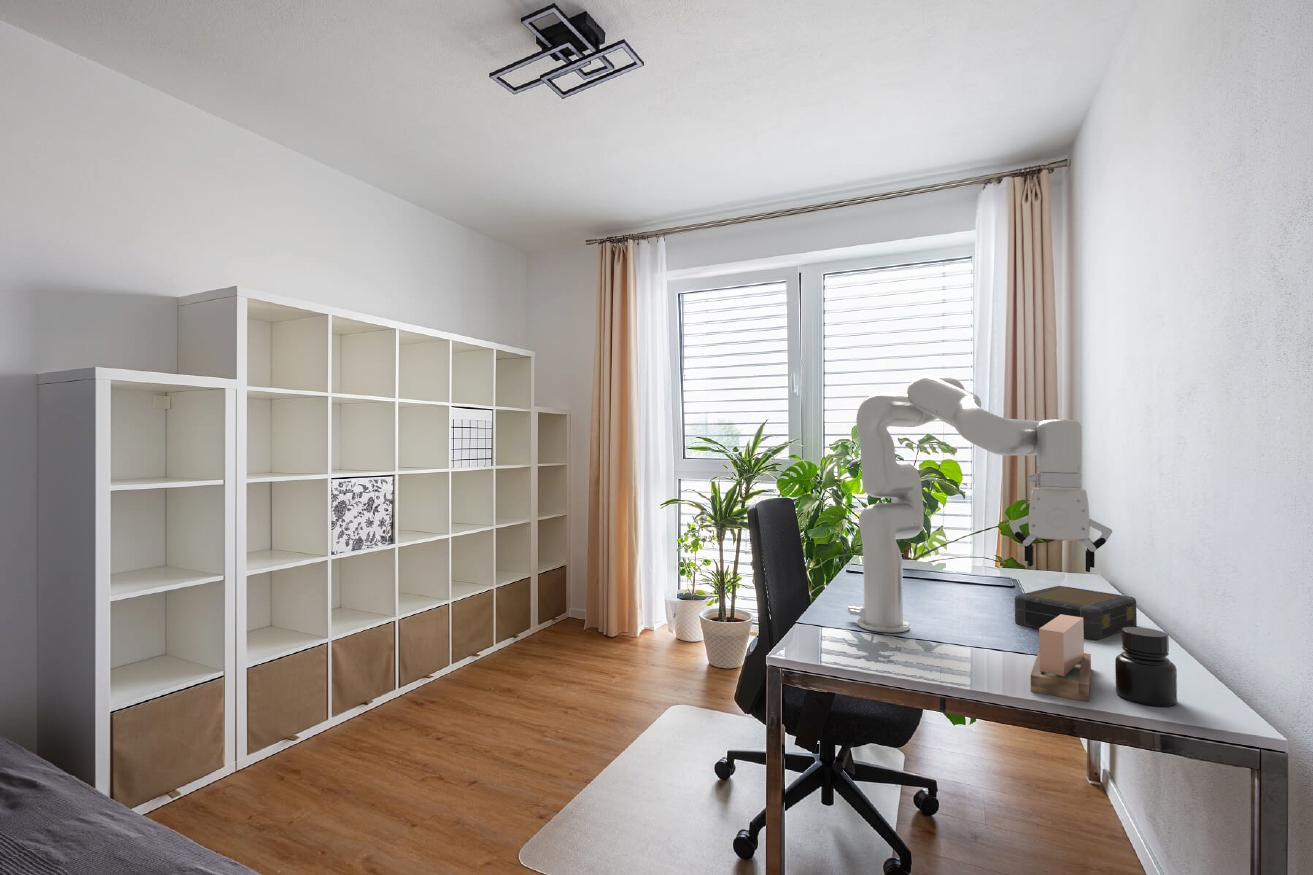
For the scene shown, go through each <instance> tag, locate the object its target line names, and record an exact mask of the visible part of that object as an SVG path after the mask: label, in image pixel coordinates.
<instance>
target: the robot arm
mask: <svg viewBox="0 0 1313 875" xmlns="http://www.w3.org/2000/svg"><path fill="white" fill-rule="evenodd" d="M906 390H907V392H906V394H905V393H894V392H880V393H875V394H872V395H870V396H868V397H866V398H865V399H864V400H863V401H862V403H861V404H860V405H859V408H858V410H857V413H856V420H855V421H856V431H857V436H858V440H859V447H860V448H859V449H860V465H861V479H862V486H863V490H864V492H865V493H866V495H868V496H869V497H872V498H877V499H878V498H879V499H883V498H885V499H886V498H887V499H888V498H889V499H891V500H890V502H878V503H872V504H870V505H868V506H866V507H865V508H863V509H862V511H861V512H860V514H859V519H858V526H859V532H860V536H861V537H860V538H861V542H862V558H863V559H862V561H863V562H862V564H863V606H860V607H857V606H853V605H849V606H848V608H847V612H848V614H850V616H851V615H852V616H858V617H859V618H858V619H857V626H859V627H860V628H862V629H864V630H868V631H871V632H879V633H887V634H888V633H895V634H896V633H903V632H907V631H909V630H910V623H909V622H908V621H906V620H904V606H903V605H904V604H903V603H904V592H903V590H904V586H903V585H904V584H903V583H904V582H903V581H904V580H903V577H904V576H903V571H904V570H903V568H904V567H903V557H902V556H903V555H902V552H901V549H900V547H899V545H898V543H897V540H903V539H905V540H906V539H912V538H915V537H917V536H918V535H919V534H920V532H922V530H923V527H924V522H925V521H924V520H925V516H924V515H925V514H924V502H923V499H924V498H923V488H922V487H923V486H922V480H921V476H920V474H919V472H918V470H917V467H915V466H914V465H913V464H911V463H909V462H906V461H899V460H897V459H896V453H895V451H896V448H895V442H894V440H893V437H892V436H891V434H890V432H889V431H888V427H898V428H899V427H900V428H904V427H905V428H914V427H919V426H923V425H926V424H928V423H930V422H932V421H935V420H937V419H938V420H939V421H942V422H943V423H946V424H948V425H950V426H951V427H954V428H955V431H956V432H958V434H959V435H960V436H961V437H963V439H965V440H967V441H968V442H970V444H974V445H976V446H977V447H979V448H981V449H984V450H986V451H988V452H989V453H991V454H994V455H995V454H996V455H998V456H1019V457H1020V456H1021V457H1028V456H1029V457H1031V456H1036V473H1035V474H1029V475H1028V482H1032V483H1035V484H1036V487H1032V489H1031V494H1030V500H1029V511H1028V512H1029V513H1028V515H1026V516H1024V517H1021V518H1019V519H1016V520H1014V521H1011V522H1010V523H1009V525H1008V526H1009V528H1010V530H1011V531H1012V533H1013V535H1014V537H1015V538H1016V539H1017V540H1018V541H1019V542H1021V544H1022V545H1023V546H1024V561H1025V562H1028V563H1027V566H1028V567H1033V566H1034V563H1035V562H1034V560H1035V559H1034V556H1035V555H1034V550H1035V549H1034V548H1035V547H1034V545H1033V542H1034V541H1035V540H1036V539H1045V540H1055V541H1056V540H1058V541H1069V542H1081V543H1082V544H1083V546H1085V547H1086V550H1085V572H1086V573H1091V568H1095V555H1096V554H1095V552H1096V550H1098V549H1099V548H1101V547H1102V546H1104V545H1105V544H1106V542H1107V541H1108V539H1109V538H1110V536H1111V535H1112V534H1113V529H1112V528H1110V527H1108V526H1106V525H1104V524H1102V523H1101V522H1098V521H1096V520H1094V519H1092V518H1090V507H1089V506H1090V505H1089V500H1088V493H1087V490H1086V489H1083V488H1082V481H1083V480H1082V476H1083V475H1082V464H1083V463H1082V459H1083V458H1082V457H1083V456H1082V452H1083V451H1082V446H1083V444H1082V443H1083V442H1082V441H1083V439H1082V438H1083V437H1082V432H1083V431H1082V425H1081V423H1080V422H1079V420H1074V419H1065V418H1064V419H1060V418H1059V419H1044V420H1041V421H1039V420H1035V419H1033V420H1032V419H1018V418H1017V419H1016V418H1004V417H1001V416H999V415H997V414H994V413H993V412H990V411H988V410H985V409H983V408H982V401H981V399H980V396H978V395H977V394H975V393H973V392H971V391H968V390H966V388H965V387H964V385H963V384H962V383H961V382H960V380H957V379H956V378H952V377H949V376H948V377H947V376H936V375H921V376H919V377H916V378H915V379H913V381H911V382H910V383H909V385H908V387H907V389H906ZM1025 524H1028V532H1029V535H1028V536H1026V535H1025V534H1023V532H1022V531H1021V530H1020V526H1022V525H1023V526H1024V525H1025ZM1091 528H1093V529H1094V530H1097V531H1099V532H1100V533H1101V534H1100V536H1099V537H1098V538H1097V539H1096V540H1094V541H1092V540H1091V538H1090V532H1091Z"/></svg>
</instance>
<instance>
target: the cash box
mask: <svg viewBox="0 0 1313 875" xmlns="http://www.w3.org/2000/svg"><path fill="white" fill-rule="evenodd" d="M1060 614H1062V615H1069V616H1075V617H1082V618H1083V629H1084V640H1085V639H1086V640H1090V641H1098V640H1101V639H1104V638H1108V637H1110V636H1112V635H1116V634H1119V633H1122V628H1124V627H1135V626H1136V627H1138V626H1137V625H1138V622H1137V620H1138V619H1137V617H1138V616H1137V599H1136V598H1135V597H1133V596H1129V595H1124V594H1116V593H1111V592H1110V593H1109V592H1103V591H1096V590H1090V589H1085V588H1084V589H1083V588H1077V587H1070V586H1065V585H1055V586H1050V587H1047V588H1043V589H1038V590H1033V591H1029V592H1025V593H1021V594H1017V595H1015V597H1014V622H1015V624H1016V623H1017V625H1019V624H1021V625H1020V626H1023V625H1025V627H1028V626H1031V627H1030V628H1033V627H1034V629H1037V628H1038V630H1039V629H1040V628H1041V627H1043V626H1044V625H1045V624H1047V623H1048V622H1050V621H1051V620H1053V619H1054V618H1056V617H1057V616H1059V615H1060Z"/></svg>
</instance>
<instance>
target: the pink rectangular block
mask: <svg viewBox="0 0 1313 875" xmlns="http://www.w3.org/2000/svg"><path fill="white" fill-rule="evenodd" d="M1038 631H1039V632H1038V636H1039V637H1038V638H1039V639H1038V640H1039V642H1038V643H1039V644H1038V645H1039V647H1038V648H1039V650H1038V652H1039V653H1040V671H1041V672H1046V673H1051V674H1056V675H1061V676H1065V675H1066V674H1067V673H1068V672H1069V671H1070V670H1071V669H1072V668H1073V667H1074V666H1075V665H1076V664H1077V663H1079V662H1080V661H1081V660H1082V659H1083V658H1084V653H1085V649H1084V648H1085V643H1084V640H1085V638H1084V629H1083V618H1082V617H1075V616H1069V615H1062V614H1060V615H1059V616H1057V617H1056V618H1054V619H1053V620H1051V621H1050V622H1048V623H1047V624H1045V625H1044V626H1043V627H1041V628H1040V629H1038Z"/></svg>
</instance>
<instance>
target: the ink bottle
mask: <svg viewBox="0 0 1313 875" xmlns="http://www.w3.org/2000/svg"><path fill="white" fill-rule="evenodd" d="M1169 639H1170V638H1169V634H1168V633H1167V632H1164V631H1161V630H1157V629H1154V628H1149V627H1138V626H1136V627H1124V628H1122V632H1121V645H1122V646H1121V649H1122V650H1123V651H1122V652H1120V654H1118V655H1117V656H1116V657H1115V661H1114V662H1115V664H1114V666H1115V667H1114V668H1115V669H1114V670H1115V671H1114V673H1115V692H1116V694H1117V695H1118V696H1120V697H1122V698H1123V699H1126V700H1128V701H1132V702H1134V703H1138V704H1141V705H1146V706H1155V707H1170V706H1174V705H1176V704H1178V673H1177V672H1178V671H1177V667H1176V665H1175V664H1174V663H1173V661H1171V660H1170V659H1169V658H1168V656H1169V651H1170V649H1169V648H1170V645H1169V644H1170V642H1169Z"/></svg>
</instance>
